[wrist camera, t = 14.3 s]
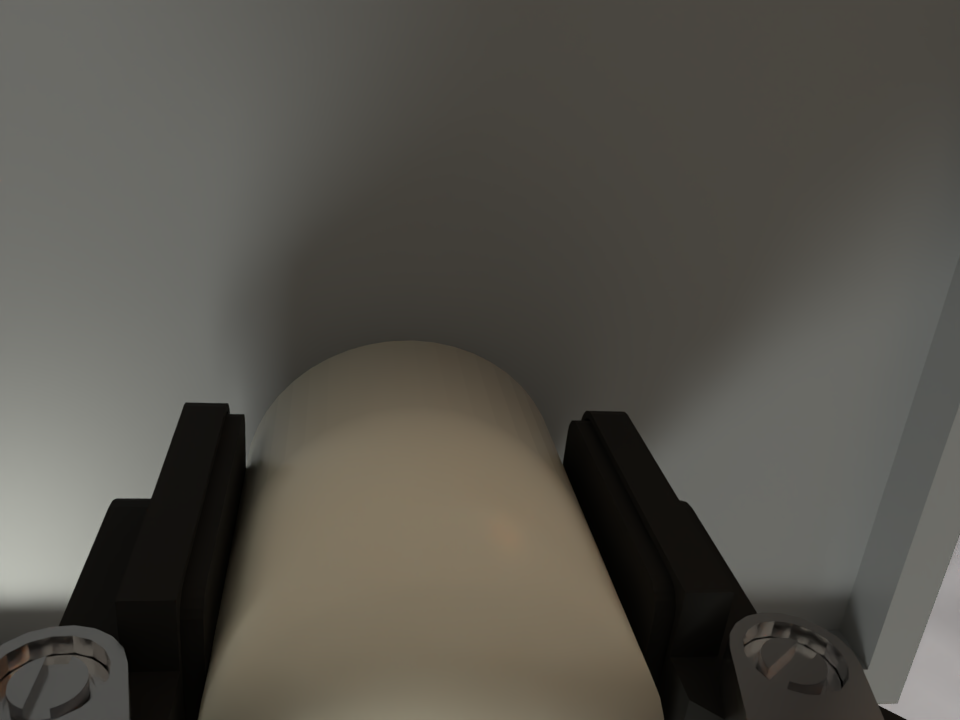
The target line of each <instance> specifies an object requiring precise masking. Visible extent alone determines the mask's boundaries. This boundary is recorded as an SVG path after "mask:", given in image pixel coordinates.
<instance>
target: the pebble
mask: <svg viewBox="0 0 960 720" xmlns="http://www.w3.org/2000/svg"><path fill="white" fill-rule="evenodd" d="M198 720H664V715H663V710H662V705H661V700H660V696H659V693H658V691H657V688H656V686H655V683H654V681H653V678H652V676H651V673H650V671H649V669H648V666H647V664H646V662H645V659H644V657H643V654H642V652H641V650H640V647H639V645H638V643H637V640H636V638H635V635H634V633H633V631H632V628H631V626H630V624H629V621H628V619H627V616H626V614H625V612H624V609H623V607H622V604H621V602H620V600H619V597H618V595H617V593H616V590H615V588H614V585H613V583H612V581H611V578H610V576H609V574H608V571H607V569H606V566H605V564H604V562H603V559H602V557H601V555H600V552H599V550H598V547H597V545H596V543H595V540H594V538H593V536H592V533H591V531H590V528H589V526H588V524H587V521H586V519H585V516H584V514H583V512H582V509H581V507H580V505H579V502H578V500H577V497H576V495H575V493H574V490H573V488H572V486H571V483H570V481H569V478H568V476H567V474H566V471H565V469H564V467H563V464H562V462H561V459H560V457H559V455H558V452H557V450H556V448H555V445H554V443H553V440H552V438H551V436H550V433H549V431H548V428H547V426H546V424H545V421H544V419H543V417H542V415H541V413H540V411H539V410H538V408H537V406H536V405H535V403H534V401H533V400H532V399H531V397H530V396H529V395H528V394H527V392H526V391H525V390H524V389H523V387H522V386H521V385H520V384H518V383H517V382H516V381H515V380H514V379H513V378H512V377H511V376H510V375H509V374H507V373H506V372H505V371H503V370H502V369H500V368H499V367H497V366H496V365H494V364H493V363H491V362H489V361H487V360H485V359H484V358H482V357H480V356H478V355H476V354H473V353H471V352H468V351H465V350H462V349H459V348H457V347H453V346H448V345H444V344H439V343H435V342H424V341H389V342H382V343H375V344H369V345H365V346H362V347H358V348H354V349H351V350H348V351H345V352H343V353H340V354H338V355H335V356H333V357H331V358H328V359H327V360H325V361H323V362H321V363H319V364H318V365H316V366H314V367H312V368H310V369H309V370H308V371H306V372H305V373H304V374H302V375H301V376H300V377H298V378H297V379H296V380H294V381H293V382H292V383H291V384H290V385H289V386H288V387H287V388H286V389H285V390H284V391H283V392H282V393H281V394H280V395H279V396H278V397H277V398H276V400H275V401H274V402H273V404H272V405H271V406H270V407H269V409H268V410H267V411H266V413H265V415H264V417H263V418H262V420H261V422H260V424H259V425H258V427H257V430H256V432H255V435H254V437H253V440H252V442H251V445H250V450H249V454H248V459H247V463H246V471H245V477H244V482H243V487H242V493H241V498H240V503H239V508H238V514H237V519H236V524H235V530H234V535H233V540H232V545H231V551H230V556H229V561H228V567H227V572H226V577H225V582H224V588H223V593H222V598H221V604H220V609H219V614H218V619H217V625H216V630H215V635H214V641H213V646H212V651H211V656H210V662H209V667H208V672H207V678H206V683H205V687H204V691H203V696H202V700H201V705H200V710H199V715H198Z"/></svg>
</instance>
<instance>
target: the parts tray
mask: <svg viewBox="0 0 960 720" xmlns="http://www.w3.org/2000/svg"><path fill="white" fill-rule="evenodd" d="M389 341H424V342H435V343H439V344H444V345H448V346H453V347H457V348H459V349H462V350H465V351H468V352H471V353H473V354H476V355H478V356H480V357H482V358H484V359H485V360H487V361H489V362H491V363H493V364H494V365H496V366H497V367H499V368H500V369H502V370H503V371H505V372H506V373H507V374H509V375H510V376H511V377H512V378H513V379H514V380H515V381H516V382H517V383H518V384H520V385H521V386H522V387H523V389H524V390H525V391H526V392H527V394H528V395H529V396H530V397H531V399H532V400H533V401H534V403H535V405H536V406H537V408H538V410H539V411H540V413H541V415H542V417H543V419H544V421H545V424H546V426H547V428H548V431H549V433H550V436H551V438H552V440H553V443H554V445H555V448H556V450H557V452H558V455H559V457H560V459H561V462H562V464H563V458H564V452H565V445H566V439H567V432H568V428H569V424H570V422H571V421H572V420H581V419H582V416H583V414H584V413H585V411H623V412H626V413H627V414H628V416H629V418H630V419H631V421H632V423H633V424H634V426H635V427H636V429H637V431H638V432H639V434H640V436H641V437H642V439H643V441H644V442H645V444H646V446H647V447H648V449H649V451H650V452H651V454H652V456H653V457H654V459H655V461H656V462H657V464H658V466H659V467H660V469H661V471H662V472H663V474H664V476H665V477H666V479H667V481H668V482H669V484H670V486H671V487H672V489H673V491H674V492H675V494H676V496H677V497H678V499H679V500H682V501H685V502H687V503H688V504H689V505H690V506H691V507H692V508H693V510H694V511H695V513H696V515H697V516H698V518H699V520H700V521H701V523H702V524H703V526H704V528H705V529H706V531H707V532H708V534H709V536H710V537H711V539H712V541H713V542H714V544H715V545H716V547H717V549H718V550H719V552H720V554H721V555H722V557H723V558H724V560H725V562H726V563H727V565H728V566H729V568H730V570H731V571H732V573H733V575H734V576H735V578H736V579H737V581H738V583H739V584H740V586H741V588H742V589H743V591H744V592H745V594H746V596H747V597H748V599H749V600H750V602H751V604H752V605H753V607H754V609H755V610H756V612H757V613H762V612H763V613H783V614H787V615H792V616H796V617H800V618H803V619H805V620H807V621H810V622H812V623H815V624H817V625H819V626H821V627H823V628H824V629H826V630H827V631H829V632H831V633H832V634H834V635H835V636H837V637H838V638H839V639H840V640H841V641H842V642H843V643H844V644H846V645H847V646H848V647H849V648H850V649H851V650H852V652H853V653H854V655H855V656H856V658H857V659H858V661H859V663H860V664H861V666H862V668H863V671H864V673H865V675H866V678H867V680H868V682H869V685H870V687H871V690H872V692H873V694H874V697H875V699H876V701H877V704H896V703H898V700H899V698H900V695H901V692H902V689H903V687H904V684H905V681H906V679H907V676H908V673H909V671H910V668H911V665H912V662H913V660H914V657H915V654H916V652H917V649H918V646H919V643H920V641H921V638H922V635H923V633H924V630H925V627H926V624H927V622H928V619H929V616H930V614H931V611H932V608H933V605H934V603H935V600H936V597H937V595H938V592H939V589H940V586H941V584H942V581H943V578H944V576H945V573H946V570H947V568H948V565H949V562H950V559H951V557H952V554H953V551H954V549H955V546H956V543H957V540H958V538H959V535H960V0H0V645H2V644H3V643H5V642H8V641H10V640H12V639H14V638H16V637H19V636H21V635H23V634H25V633H28V632H32V631H36V630H40V629H44V628H48V627H55V626H59V624H60V621H61V619H62V617H63V614H64V612H65V610H66V607H67V605H68V602H69V600H70V598H71V595H72V593H73V591H74V588H75V586H76V583H77V581H78V579H79V576H80V574H81V572H82V569H83V567H84V564H85V562H86V560H87V557H88V555H89V553H90V550H91V548H92V545H93V543H94V541H95V538H96V536H97V534H98V531H99V529H100V526H101V524H102V522H103V519H104V517H105V515H106V512H107V510H108V507H109V506H110V504H111V502H112V500H114V499H116V498H151V497H152V495H153V492H154V489H155V486H156V483H157V480H158V478H159V475H160V472H161V469H162V466H163V463H164V460H165V458H166V455H167V452H168V449H169V446H170V443H171V440H172V438H173V435H174V432H175V429H176V426H177V423H178V420H179V418H180V415H181V412H182V409H183V406H184V404H185V403H186V402H189V403H228V404H229V408H230V414H244V416H245V436H246V463H247V459H248V454H249V450H250V445H251V442H252V440H253V437H254V435H255V432H256V430H257V427H258V425H259V424H260V422H261V420H262V418H263V417H264V415H265V413H266V411H267V410H268V409H269V407H270V406H271V405H272V404H273V402H274V401H275V400H276V398H277V397H278V396H279V395H280V394H281V393H282V392H283V391H284V390H285V389H286V388H287V387H288V386H289V385H290V384H291V383H292V382H293V381H294V380H296V379H297V378H298V377H300V376H301V375H302V374H304V373H305V372H306V371H308V370H309V369H310V368H312V367H314V366H316V365H318V364H319V363H321V362H323V361H325V360H327V359H328V358H331V357H333V356H335V355H338V354H340V353H343V352H345V351H348V350H351V349H354V348H358V347H362V346H365V345H369V344H375V343H382V342H389Z"/></svg>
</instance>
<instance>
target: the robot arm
mask: <svg viewBox="0 0 960 720" xmlns="http://www.w3.org/2000/svg"><path fill="white" fill-rule="evenodd" d="M563 467H564V469H565V471H566V474H567V476H568V478H569V481H570V483H571V486H572V488H573V490H574V493H575V495H576V497H577V500H578V502H579V505H580V507H581V509H582V512H583V514H584V516H585V519H586V521H587V524H588V526H589V528H590V531H591V533H592V536H593V538H594V540H595V543H596V545H597V547H598V550H599V552H600V555H601V557H602V559H603V562H604V564H605V566H606V569H607V571H608V574H609V576H610V578H611V581H612V583H613V585H614V588H615V590H616V593H617V595H618V597H619V600H620V602H621V604H622V607H623V609H624V612H625V614H626V616H627V619H628V621H629V624H630V626H631V628H632V631H633V633H634V635H635V638H636V640H637V643H638V645H639V647H640V650H641V652H642V654H643V657H644V659H645V662H646V664H647V666H648V669H649V671H650V673H651V676H652V678H653V681H654V683H655V686H656V688H657V691H658V693H659V696H660V700H661V705H662V710H663V715H664V720H906V719H904V718H902V717H900V716H898V715H896V714H894V713H892V712H890V711H888V710H886V709H884V708H882V707H880V706H878V704H877V701H876V699H875V697H874V694H873V692H872V690H871V687H870V685H869V682H868V680H867V678H866V675H865V673H864V671H863V668H862V666H861V664H860V663H859V661H858V659H857V658H856V656H855V655H854V653H853V652H852V650H851V649H850V648H849V647H848V646H847V645H846V644H844V643H843V642H842V641H841V640H840V639H839V638H838V637H837V636H835V635H834V634H832V633H831V632H829V631H827V630H826V629H824V628H823V627H821V626H819V625H817V624H815V623H812V622H810V621H807V620H805V619H803V618H800V617H796V616H792V615H787V614H783V613H763V612H762V613H757V612H756V610H755V609H754V607H753V605H752V604H751V602H750V600H749V599H748V597H747V596H746V594H745V592H744V591H743V589H742V588H741V586H740V584H739V583H738V581H737V579H736V578H735V576H734V575H733V573H732V571H731V570H730V568H729V566H728V565H727V563H726V562H725V560H724V558H723V557H722V555H721V554H720V552H719V550H718V549H717V547H716V545H715V544H714V542H713V541H712V539H711V537H710V536H709V534H708V532H707V531H706V529H705V528H704V526H703V524H702V523H701V521H700V520H699V518H698V516H697V515H696V513H695V511H694V510H693V508H692V507H691V506H690V505H689V504H688V503H687V502H685V501H682V500H679V499H678V497H677V496H676V494H675V492H674V491H673V489H672V487H671V486H670V484H669V482H668V481H667V479H666V477H665V476H664V474H663V472H662V471H661V469H660V467H659V466H658V464H657V462H656V461H655V459H654V457H653V456H652V454H651V452H650V451H649V449H648V447H647V446H646V444H645V442H644V441H643V439H642V437H641V436H640V434H639V432H638V431H637V429H636V427H635V426H634V424H633V423H632V421H631V419H630V418H629V416H628V414H627V413H626V412H623V411H585V413H584V414H583V416H582V419H581V420H572V421H571V422H570V424H569V428H568V432H567V439H566V445H565V452H564V458H563ZM245 471H246V436H245V416H244V414H230V408H229V404H228V403H189V402H186V403H185V404H184V406H183V409H182V412H181V415H180V418H179V420H178V423H177V426H176V429H175V432H174V435H173V438H172V440H171V443H170V446H169V449H168V452H167V455H166V458H165V460H164V463H163V466H162V469H161V472H160V475H159V478H158V480H157V483H156V486H155V489H154V492H153V495H152V497H151V498H116V499H114V500H112V502H111V504H110V506H109V507H108V510H107V512H106V515H105V517H104V519H103V522H102V524H101V526H100V529H99V531H98V534H97V536H96V538H95V541H94V543H93V545H92V548H91V550H90V553H89V555H88V557H87V560H86V562H85V564H84V567H83V569H82V572H81V574H80V576H79V579H78V581H77V583H76V586H75V588H74V591H73V593H72V595H71V598H70V600H69V602H68V605H67V607H66V610H65V612H64V614H63V617H62V619H61V621H60V624H59V626H55V627H48V628H44V629H40V630H36V631H32V632H28V633H25V634H23V635H21V636H19V637H16V638H14V639H12V640H10V641H8V642H5V643H3V644H2V645H0V720H198V715H199V710H200V705H201V700H202V696H203V691H204V687H205V683H206V678H207V672H208V667H209V662H210V656H211V651H212V646H213V641H214V635H215V630H216V625H217V619H218V614H219V609H220V604H221V598H222V593H223V588H224V582H225V577H226V572H227V567H228V561H229V556H230V551H231V545H232V540H233V535H234V530H235V524H236V519H237V514H238V508H239V503H240V498H241V493H242V487H243V482H244V477H245Z"/></svg>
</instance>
